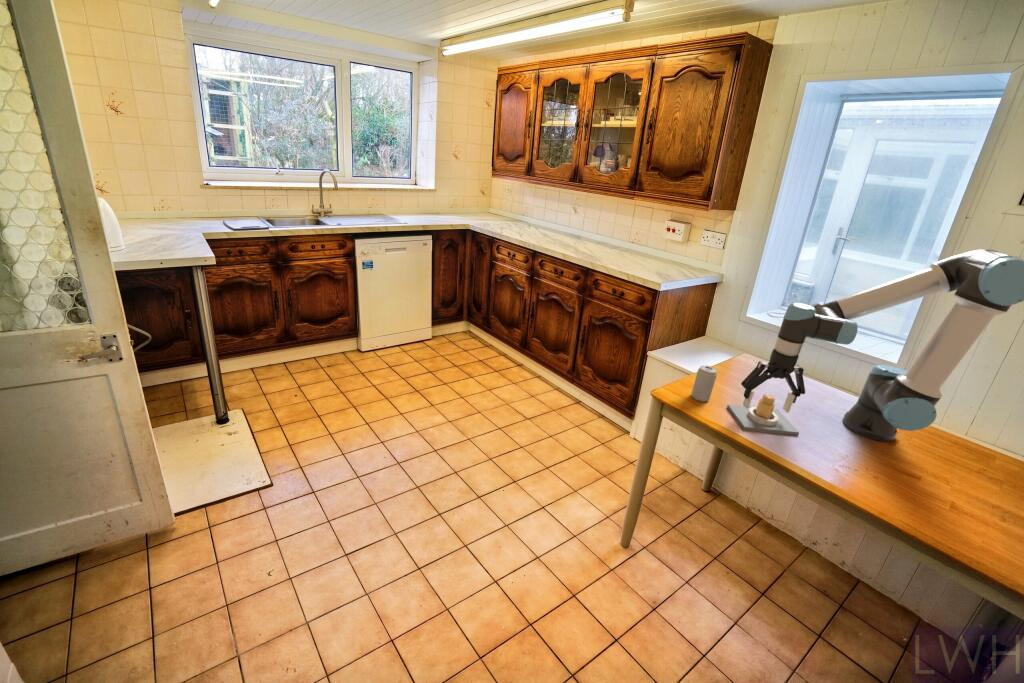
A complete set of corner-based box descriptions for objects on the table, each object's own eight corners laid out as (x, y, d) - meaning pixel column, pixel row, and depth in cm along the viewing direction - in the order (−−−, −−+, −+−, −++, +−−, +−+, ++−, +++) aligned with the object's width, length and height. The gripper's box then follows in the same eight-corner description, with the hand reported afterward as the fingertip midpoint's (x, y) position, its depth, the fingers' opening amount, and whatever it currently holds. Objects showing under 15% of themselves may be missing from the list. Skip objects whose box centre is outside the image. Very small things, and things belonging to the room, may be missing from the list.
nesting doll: (765, 414, 163) (772, 394, 160) (772, 422, 159) (779, 401, 156) (751, 413, 163) (758, 393, 160) (757, 421, 159) (765, 400, 156)
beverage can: (710, 397, 173) (719, 368, 169) (706, 404, 168) (716, 374, 164) (693, 391, 176) (701, 362, 172) (688, 398, 171) (697, 368, 167)
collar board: (777, 412, 168) (780, 405, 167) (798, 435, 155) (800, 428, 154) (727, 407, 168) (729, 400, 167) (743, 429, 155) (746, 422, 154)
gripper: (818, 350, 155) (796, 406, 163) (742, 342, 154) (724, 399, 163) (831, 360, 148) (808, 418, 156) (752, 352, 148) (733, 410, 156)
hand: (765, 408), depth 160 cm, fingers open, 13 cm apart
